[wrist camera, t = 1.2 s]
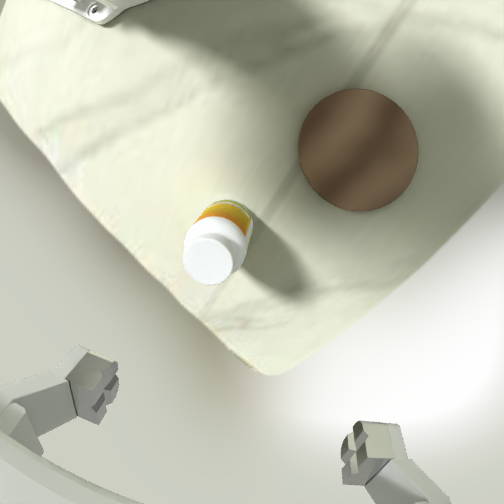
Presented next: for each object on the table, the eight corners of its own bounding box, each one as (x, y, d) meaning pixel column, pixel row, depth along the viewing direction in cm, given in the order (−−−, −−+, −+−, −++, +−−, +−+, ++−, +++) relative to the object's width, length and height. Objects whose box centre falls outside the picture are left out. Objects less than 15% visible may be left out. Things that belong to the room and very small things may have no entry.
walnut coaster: (276, 172, 31) (276, 174, 30) (333, 67, 26) (334, 66, 26) (377, 228, 32) (380, 232, 31) (433, 132, 28) (437, 133, 27)
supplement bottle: (197, 202, 33) (166, 234, 24) (249, 194, 32) (235, 224, 23) (208, 250, 35) (182, 296, 26) (257, 244, 34) (247, 290, 25)
